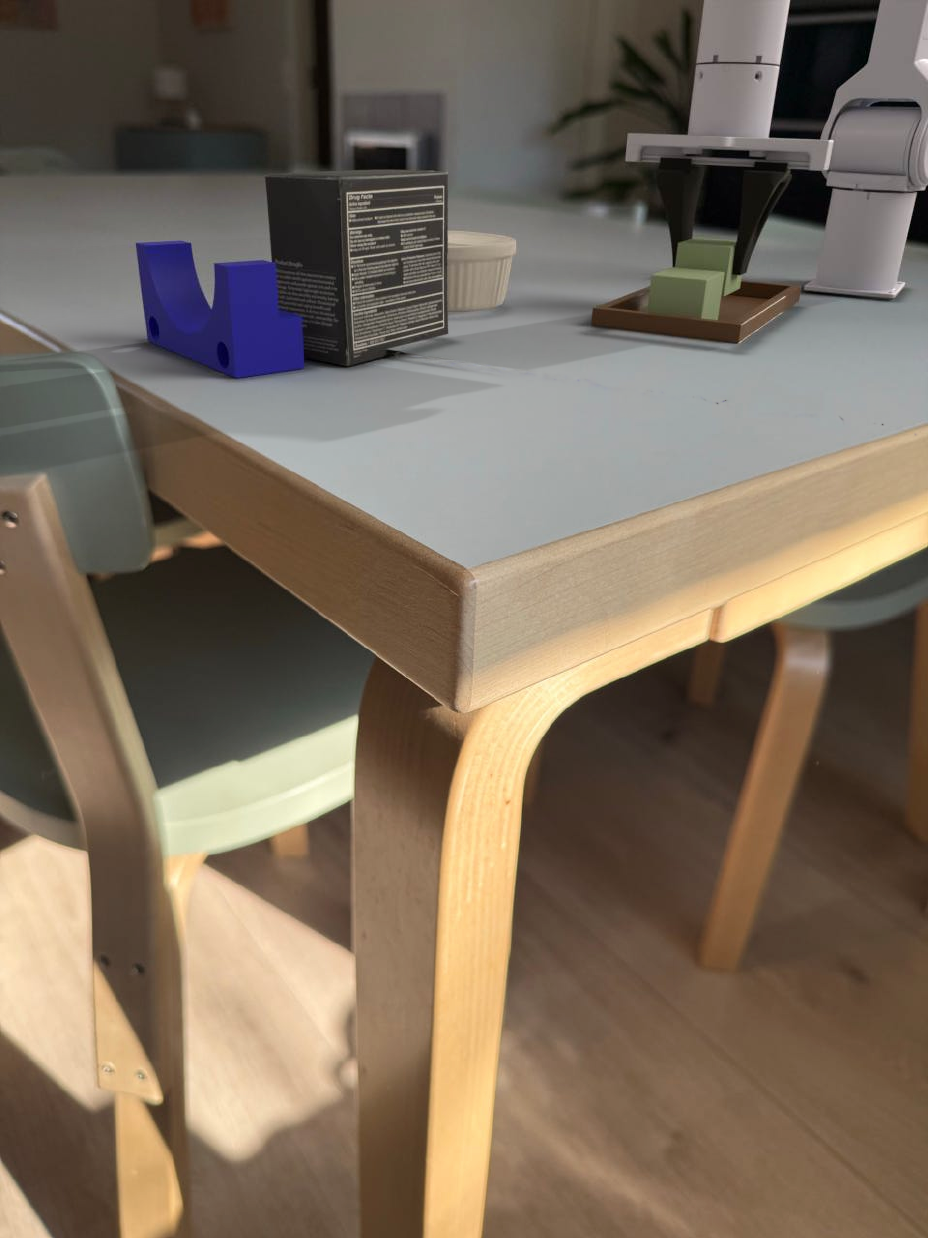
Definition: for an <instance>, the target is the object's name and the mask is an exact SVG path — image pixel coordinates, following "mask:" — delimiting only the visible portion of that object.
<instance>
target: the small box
mask: <svg viewBox="0 0 928 1238" xmlns="http://www.w3.org/2000/svg"><path fill="white" fill-rule="evenodd" d="M264 183H265V194H266V206H267V218H268V231H269V244H270V256H271V257H270V258H271V259H270V260H271V262H273V263H276V273H277V290H278V307H279V310H283V311H286V312H289V313H293V314H296V315H299V316H302V329H303V349H304V359H311V360H315V361H321V362H327V363H332V364H334V365H335V364H336V365H340V366H345V367H351V366H355V365H358V364H362V363H365V362H368V361H374V360H376V359H380V358H384V357H387V356H391V355H396V354H399V353H402V352H403V350H402V351H401V350H394V348H397V347H400V346H404V345H405V346H406V345H409V344H413V343H417V342H421V341H425V340H429V339H434V338H438V337H441V336H445V335H449V311H448V309H447V308H448V301H447V289H448V284H447V277H448V269H447V266H448V262H447V254H448V231H449V224H448V223H449V206H448V205H449V172H448V171H444V170H420V169H419V170H415V169H355V170H351V169H350V170H326V171H325V170H324V171H307V172H306V171H305V172H303V171H302V172H288V173H287V172H286V173H285V172H284V173H269V174H265V175H264Z"/></svg>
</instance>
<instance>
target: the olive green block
mask: <svg viewBox="0 0 928 1238" xmlns="http://www.w3.org/2000/svg"><path fill="white" fill-rule="evenodd" d="M736 241H737V239H736V240H735V239H724V238H710V237H699V236H698V237H692V239H689V240H686V241H683V242H679V243H678V248H677V256H676V264H675V267H676V268H686V269H697V270H708V271H719V272H725V274H724V281H723V288H722V295H721V297H724V296H726V295H728V294H730V293H732V292H734V291H736V290H738V289H740V284H741V280H742V277H743V274H742V275H732V269H733V259H734V251H735V246H736Z"/></svg>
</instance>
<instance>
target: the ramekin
mask: <svg viewBox="0 0 928 1238" xmlns="http://www.w3.org/2000/svg"><path fill="white" fill-rule="evenodd" d="M516 253H517V241H516V239H515V238H514V237H510V236H507V235H501V234H493V233H485V232H475V231H467V230H448V254H447V262H448V266H447V269H448V277H447V284H448V289H447V301H448V308H447V309H448V312H469V311H470V312H471V311H482V310H488V309H489V310H490V309H494V308H497V307H499V306H501V305H502V304H503V303H504V300H505V298H506V294H507V289H508V284H509V283H508V282H509V279H510V274H511V269H512V262H513V257H514V255H515V254H516Z"/></svg>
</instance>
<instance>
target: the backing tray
mask: <svg viewBox="0 0 928 1238" xmlns="http://www.w3.org/2000/svg"><path fill="white" fill-rule="evenodd" d="M649 291H650V285H648V286H646V287H644V288H641V289H638V290H635V291H633V292H630V293H628V294H626V295H623V296H621V297H618V298H616V299H613V300H610V301H608V302H605V303H603V304H600V305H597V306H594V307H592V313H591V323H590V324H591V325H590V326H591V327H595V328H596V327H597V328H604V329H605V328H606V329H613V330H622V331H630V332H638V333H645V334H655V335H663V336H670V337H677V338H679V337H680V338H686V339H687V338H688V339H693V340H695V339H696V340H704V341H712V342H720V343H726V344H727V343H728V344H735V345H739V344H741V343H742V342H744V341H745V340H746V339H747V338H749V337H751V336H752V335H754V334H755V333H756V332H757V331H760V329H761V328H763V327H764V326H766V325H767V324H769V323H770V322H772V321H773V320H774V319H776V318H778V317H779V316H780V315H781V314H783V313H784V312H786V311H787V310H788V309H790V308H791V307H793V306H795V305H796V304H797V303H799V302H800V298H801V293H802V285H798V284H790V283H789V284H788V283H777V282H767V281H758V280H757V281H756V280H747V279H741V284H740V289H738V290H736V291H734V292H732V293H730V294H728V295H726V296H724V297H721V301H720V308H719V315H718V320H712V319H703V318H694V317H685V316H677V315H668V314H659V313H650V312H647V308H648V300H649Z"/></svg>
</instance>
